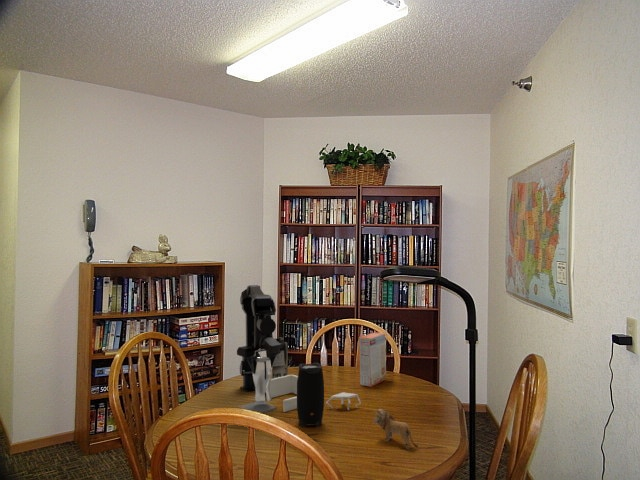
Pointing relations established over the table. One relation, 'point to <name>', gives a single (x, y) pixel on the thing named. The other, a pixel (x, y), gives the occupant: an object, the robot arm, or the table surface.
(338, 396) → the white legged piece
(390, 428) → the lion figurine
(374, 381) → the cracker box
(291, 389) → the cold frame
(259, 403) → the slate mat
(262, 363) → the beer glass
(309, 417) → the portable speaker
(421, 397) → the table surface
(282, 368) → the coffee box
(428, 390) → the table surface
